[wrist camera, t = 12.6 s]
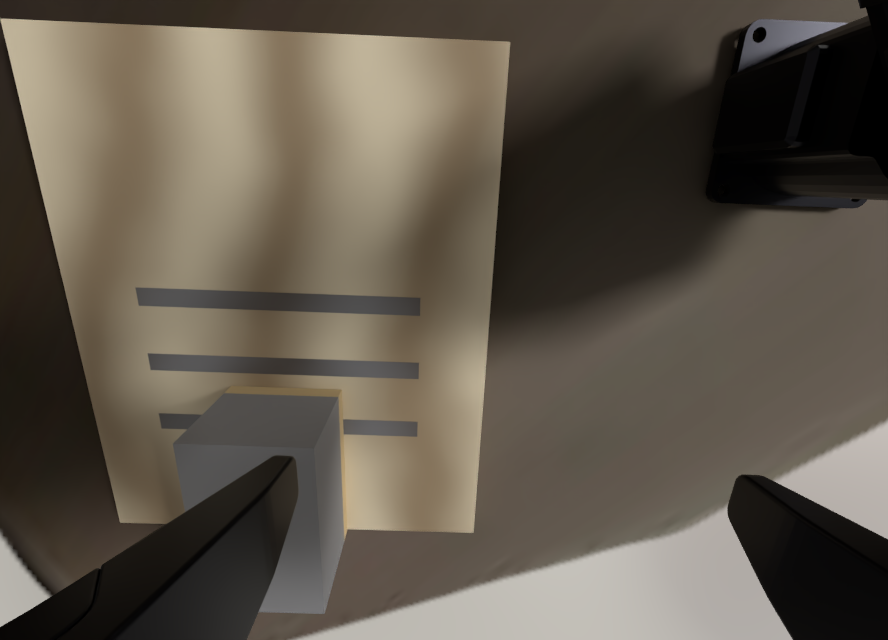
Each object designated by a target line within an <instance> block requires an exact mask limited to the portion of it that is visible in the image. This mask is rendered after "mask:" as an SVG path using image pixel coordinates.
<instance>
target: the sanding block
mask: <svg viewBox="0 0 888 640" xmlns="http://www.w3.org/2000/svg"><path fill="white" fill-rule="evenodd" d="M173 448H174V453H175V459H176V464H177V470H178V475H179V481H180V486H181V492H182V498H183V503H184V509H185V512H186V511H187V510H189V509H190V508H192V507H194V506H195V505H197V504H198V503H200V502H201V501H203V500H205V499H206V498H208V497H209V496H211V495H212V494H214V493H216V492H217V491H219V490H220V489H222V488H223V487H225V486H227V485H228V484H230V483H231V482H233V481H234V480H236V479H237V478H239V477H241V476H242V475H244V474H245V473H247V472H248V471H250V470H252V469H253V468H255V467H256V466H258V465H259V464H261V463H263V462H264V461H266V460H267V459H269V458H270V457H272V456H275V455H285V456H293V457H294V458H295V460H296V464H297V475H298V486H299V494H298V500H297V504H296V507H295V510H294V513H293V516H292V520H291V523H290V526H289V529H288V533H287V536H286V539H285V542H284V545H283V549H282V552H281V555H280V558H279V562H278V565H277V568H276V571H275V574H274V576H273V579H272V581H271V584H270V586H269V589H268V591H267V593H266V596H265V598H264V600H263V603H262V605H261V607H260V610H259V612H278V613H315V614H325V610H326V607H327V603H328V599H329V595H330V592H331V588H332V584H333V581H334V577H335V573H336V570H337V566H338V562H339V559H340V555H341V551H342V547H343V544H344V540H345V536H346V533H347V510H346V483H345V457H344V430H343V404H342V390H338V389H309V388H280V387H250V386H231V387H230V388H229V389H228V390H227V391H226V392H225V393H224V394H223V395H222V396H221V397H220V398H219V399H218V400H217V401H216V402H215V403H214V404H213V405H212V406H210V407H209V408H208V409H207V410H206V411H205V412H204V413H203V414H202V415H201V416H200V417H199V418H198V419H197V420H196V421H195V422H194V423H193V424H192V425H191V426H190V427H189V428H188V429H187V430H186V431H185V432H184V433H183V434H182V435H181V436H180V437H179V438H178V439H177V440H176V441H175V442H174V443H173Z"/></svg>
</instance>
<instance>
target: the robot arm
mask: <svg viewBox="0 0 888 640" xmlns="http://www.w3.org/2000/svg"><path fill="white" fill-rule="evenodd" d="M858 2H859V5H860V8H865V7H866V9H867V13H868V16H866V17H863V18H861V19H858V20H855V21H853V22H850V23H835V22H814V21H792V20H771V19H761V20H757V21H755V22H753V23H751V24H749V25H748V26H746V27H745V28H744V29H743V30H742V32H741V34H740V37H739V40H738V45H737V49H736V54H735V59H734V63H733V68H732V73H731V77H730V78H729V79H728V80H727V81H726V85H725V90H724V95H723V99H722V104H721V109H720V113H719V118H718V123H717V127H716V132H715V137H714V141H713V149H714V156H713V160H712V165H711V170H710V174H709V179H708V184H707V188H706V195H707V198H708V199H709V200H710V201H712V202H716V203H734V204H759V205H783V206H808V207H833V208H858V207H860V206H861V205H863V204H864V203H865V202H866V201H867V199H872V200H888V0H858ZM754 31H757V32H758V34H759V40H758V42H757V43H756V42H754V40H753V32H754ZM721 185H723V186H724V192H723V194H722V195H720V196H719V194H718V188H719V187H720V186H721ZM850 198H851V199H850ZM298 494H299V486H298V475H297V464H296V460H295V458H294V457H293V456H285V455H275V456H272V457H270V458H269V459H267V460H266V461H264V462H263V463H261V464H259V465H258V466H256V467H255V468H253V469H252V470H250V471H248V472H247V473H245V474H244V475H242V476H241V477H239V478H237V479H236V480H234V481H233V482H231V483H230V484H228V485H227V486H225V487H223V488H222V489H220V490H219V491H217V492H216V493H214V494H212V495H211V496H209V497H208V498H206V499H205V500H203V501H201V502H200V503H198V504H197V505H195V506H194V507H192V508H190V509H189V510H187V511H186V512H184V513H183V514H181V515H180V516H178V517H176V518H175V519H173V520H172V521H170V522H169V523H167V524H165V525H164V526H162V527H161V528H159V529H158V530H156V531H154V532H153V533H151V534H150V535H148V536H147V537H145V538H143V539H142V540H140V541H139V542H137V543H136V544H134V545H132V546H131V547H129V548H128V549H126V550H125V551H123V552H121V553H120V554H118V555H117V556H115V557H114V558H112V559H111V560H109V561H107V562H106V563H104V564H103V565H102V566H101V569H99V568H97V569H95V570H93V571H92V572H90V573H88V574H87V575H85V576H84V577H82V578H81V579H79V580H77V581H76V582H74V583H73V584H71V585H70V586H68V587H66V588H65V589H63V590H61V591H60V592H58V593H57V594H55V595H53V596H52V597H50V598H48V599H47V600H45V601H44V602H42V603H40V604H39V605H37V606H35V607H34V608H33V609H31V610H29V611H27V612H26V613H24V614H22V615H20V616H19V617H17V618H15V619H13V620H12V621H10V622H8V623H7V624H5V625H3V626H1V627H0V640H247V638H248V635H249V633H250V631H251V628H252V626H253V624H254V621H255V619H256V617H257V614H258V612H259V610H260V607H261V605H262V603H263V600H264V598H265V596H266V593H267V591H268V589H269V586H270V584H271V581H272V579H273V576H274V574H275V571H276V568H277V565H278V562H279V558H280V555H281V552H282V549H283V545H284V542H285V539H286V536H287V533H288V529H289V526H290V523H291V520H292V516H293V513H294V510H295V507H296V504H297V500H298ZM728 517H729V520H730V522H731V524H732V526H733V528H734V530H735V532H736V534H737V536H738V539H739V541H740V543H741V545H742V547H743V549H744V551H745V553H746V555H747V557H748V559H749V561H750V563H751V565H752V567H753V569H754V571H755V573H756V575H757V577H758V579H759V581H760V583H761V585H762V587H763V589H764V591H765V593H766V595H767V597H768V598H769V600H770V602H771V604H772V605H773V607H774V609H775V611H776V612H777V614H778V616H779V617H780V619H781V621H782V622H783V624H784V626H785V627H786V629H787V631H788V632H789V634H790V636H791V637H792V639H793V640H888V539H886V538H884V537H882V536H880V535H878V534H876V533H874V532H872V531H870V530H868V529H866V528H864V527H862V526H860V525H858V524H857V523H855V522H852V521H851V520H849V519H846V518H845V517H843V516H841V515H839V514H837V513H835V512H833V511H831V510H829V509H827V508H825V507H823V506H821V505H819V504H817V503H815V502H813V501H811V500H809V499H807V498H805V497H803V496H801V495H800V494H798V493H796V492H794V491H792V490H790V489H788V488H786V487H784V486H782V485H780V484H778V483H776V482H774V481H772V480H770V479H768V478H766V477H764V476H760V475H740V476H738V478H737V479H736V481H735V484H734V487H733V491H732V494H731V497H730V500H729V504H728Z"/></svg>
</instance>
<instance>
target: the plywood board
mask: <svg viewBox="0 0 888 640" xmlns="http://www.w3.org/2000/svg"><path fill="white" fill-rule="evenodd" d="M1 24H2V28H3V32H4V36H5V40H6V45H7V49H8V53H9V57H10V61H11V66H12V70H13V74H14V78H15V82H16V87H17V91H18V95H19V99H20V103H21V108H22V112H23V116H24V120H25V125H26V129H27V133H28V137H29V141H30V146H31V150H32V154H33V158H34V162H35V167H36V171H37V175H38V179H39V183H40V188H41V192H42V196H43V200H44V204H45V209H46V213H47V217H48V221H49V225H50V230H51V234H52V238H53V242H54V246H55V251H56V255H57V259H58V263H59V268H60V272H61V276H62V280H63V284H64V289H65V293H66V297H67V301H68V305H69V310H70V314H71V318H72V322H73V326H74V331H75V335H76V339H77V343H78V347H79V352H80V356H81V360H82V364H83V368H84V373H85V377H86V381H87V385H88V389H89V394H90V398H91V402H92V406H93V411H94V415H95V419H96V423H97V427H98V432H99V436H100V440H101V444H102V448H103V453H104V457H105V461H106V465H107V469H108V474H109V478H110V482H111V486H112V490H113V495H114V499H115V503H116V507H117V511H118V516H119V520H120V523H153V524H167V523H169V522H170V521H172V520H173V519H175V518H176V517H178V516H180V515H181V514H183V513H184V512H185V509H184V503H183V498H182V492H181V486H180V481H179V475H178V470H177V464H176V459H175V453H174V448H173V443H174V442H175V441H176V440H177V439H178V438H179V437H180V436H181V435H182V434H183V433H184V432H185V431H186V430H187V429H188V428H189V427H190V426H191V425H192V424H193V423H194V422H195V421H196V420H197V419H198V418H199V417H200V416H201V415H202V414H203V413H204V412H205V411H206V410H207V409H208V408H209V407H210V406H212V405H213V404H214V403H215V402H216V401H217V400H218V399H219V398H220V397H221V396H222V395H223V394H224V393H225V392H226V391H227V390H228V389H229V388H230V387H231V386H250V387H280V388H309V389H338V390H342V404H343V430H344V457H345V483H346V510H347V529H360V530H395V531H429V532H464V533H473V532H474V519H475V505H476V492H477V479H478V465H479V452H480V439H481V425H482V412H483V399H484V385H485V372H486V359H487V345H488V332H489V319H490V305H491V292H492V279H493V265H494V252H495V239H496V225H497V212H498V199H499V185H500V172H501V158H502V145H503V132H504V118H505V105H506V92H507V78H508V65H509V52H510V42H500V41H479V40H457V39H435V38H413V37H391V36H369V35H347V34H325V33H304V32H282V31H260V30H238V29H216V28H194V27H172V26H150V25H129V24H107V23H85V22H63V21H41V20H19V19H1Z"/></svg>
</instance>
